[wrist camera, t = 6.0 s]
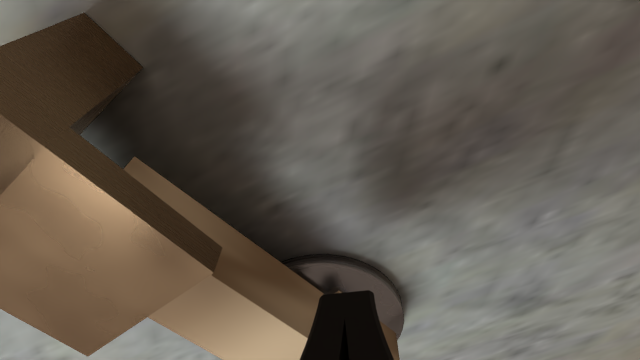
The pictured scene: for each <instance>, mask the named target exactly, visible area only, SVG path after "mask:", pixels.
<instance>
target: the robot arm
mask: <svg viewBox="0 0 640 360" xmlns="http://www.w3.org/2000/svg"><path fill="white" fill-rule="evenodd" d="M300 360H394V358H393V356H392V353H391V351H390V349H389V346H388V344H387V341H386V338H385V336H384V333H383V330H382V327H381V324H380V321H379V317H378V314H377V310H376V304H375V298H374V293H373V292H371V291H370V290H365V291H354V292H344V293H334V294H323V295H322V296H321V297H320V298H319V303H318V307H317V311H316V314H315V318H314V321H313V324H312V327H311V330H310V333H309V336H308V339H307V342H306V345H305V347H304V350H303V352H302V355H301V358H300Z"/></svg>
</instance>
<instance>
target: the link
mask: <svg viewBox="0 0 640 360" xmlns="http://www.w3.org/2000/svg"><path fill="white" fill-rule="evenodd" d="M123 170H125V171H126V172H127V173H128V174H130V175H131V176H132V177H133V178H135V179H136V180H137V181H139V182H140V183H141V184H142V185H144V186H145V187H146V188H147V189H149V190H150V191H151V192H153V193H154V194H155V195H156V196H158V197H159V198H160V199H161V200H163V201H164V202H165V203H167V204H168V205H169V206H170V207H172V208H173V209H174V210H175V211H177V212H178V213H179V214H181V215H182V216H183V217H184V218H186V219H187V220H188V221H189V222H191V223H192V224H193V225H195V226H196V227H197V228H198V229H200V230H201V231H202V232H203V233H205V234H206V235H207V236H209V237H210V238H211V239H212V240H214V241H215V242H216V243H217V244H219V245H220V246H221V247H222V251H221V253H220V256H219V259H218V262H217V265H216V268H215V271H214V273H213V274H211V275H210V276H208V277H207V278H205V279H204V280H202V281H201V282H199V283H198V284H196V285H195V286H193V287H192V288H190V289H189V290H187V291H186V292H184V293H183V294H181V295H180V296H178V297H177V298H175V299H174V300H172V301H171V302H169V303H168V304H166V305H165V306H163V307H162V308H160V309H159V310H157V311H156V312H154V313H153V314H151V315H150V316H148V318H150V319H152V320H154V321H155V322H157V323H159V324H161V325H163V326H164V327H166V328H168V329H170V330H171V331H173V332H175V333H177V334H178V335H180V336H182V337H184V338H186V339H187V340H189V341H191V342H193V343H194V344H196V345H198V346H200V347H201V348H203V349H205V350H207V351H208V352H210V353H212V354H214V355H216V356H217V357H219V358H221V359H223V360H300V358H301V355H302V352H303V350H304V347H305V345H306V342H307V339H308V336H309V333H310V330H311V327H312V324H313V321H314V318H315V314H316V311H317V307H318V303H319V298H320V297H321V296H322V295H323V294H324V293H322V292H321V291H319V290H318V289H317V288H315V287H314V286H313V285H311V284H310V283H308V282H307V281H306V280H304V279H303V278H301V277H300V276H299V275H297V274H296V273H295V272H293V271H292V270H290V269H289V268H288V267H286V266H285V265H284V264H282V263H281V262H279V261H278V260H277V259H275V258H274V257H273V256H271V255H270V254H268V253H267V252H266V251H264V250H263V249H262V248H260V247H259V246H257V245H256V244H255V243H253V242H252V241H250V240H249V239H248V238H246V237H245V236H244V235H242V234H241V233H239V232H238V231H237V230H235V229H234V228H233V227H231V226H230V225H228V224H227V223H226V222H224V221H223V220H222V219H220V218H219V217H217V216H216V215H215V214H213V213H212V212H211V211H209V210H208V209H206V208H205V207H204V206H202V205H201V204H199V203H198V202H197V201H195V200H194V199H193V198H191V197H190V196H188V195H187V194H186V193H184V192H183V191H182V190H180V189H179V188H177V187H176V186H175V185H173V184H172V183H171V182H169V181H168V180H166V179H165V178H164V177H162V176H161V175H159V174H158V173H157V172H155V171H154V170H153V169H151V168H150V167H148V166H147V165H146V164H144V163H143V162H142V161H140V160H139V159H137V158H136V157H135V156H134V158H133V159H132V160H131V161H130V162H129V163H128V164H127V165H126V167H125V168H124V169H123ZM336 293H342V292H340V291H337V292H336ZM380 324H381V327H382V330H383V333H384V336H385V338H386V341H387V344H388V346H389V349H390V351H391V353H392V356H393V358H394V360H400V359H399V352H398V345H397V337H396V333H395V332H394V331H393V330H391V329H390V328H389V327H387V326H386V325H385V324H383V323H382V322H381V321H380Z"/></svg>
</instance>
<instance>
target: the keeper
mask: <svg viewBox="0 0 640 360" xmlns="http://www.w3.org/2000/svg"><path fill="white" fill-rule="evenodd" d="M142 68H143V67H142V66H141V65H140V64H139V63H138V62H137V61H136V60H135V59H134V58H132V57H131V56H130V55H129V54H128V53H127V52H126V51H125V50H124V49H123V48H122V47H121V46H119V45H118V44H117V43H116V42H115V41H114V40H113V39H112V38H111V37H110V36H109V35H108V34H107V33H105V32H104V31H103V30H102V29H101V28H100V27H99V26H98V25H97V24H96V23H95V22H94V21H92V20H91V19H90V18H89V17H88V16H87V15H86V14H85V13H83V14H80V15H78V16H75V17H73V18H70V19H68V20H65V21H62V22H60V23H57V24H55V25H52V26H50V27H47V28H45V29H42V30H40V31H37V32H35V33H32V34H30V35H27V36H25V37H22V38H20V39H17V40H15V41H12V42H10V43H7V44H5V45H2V46H0V309H2V310H4V311H5V312H7V313H9V314H11V315H13V316H15V317H16V318H18V319H20V320H22V321H24V322H26V323H27V324H29V325H31V326H33V327H35V328H37V329H38V330H40V331H42V332H44V333H46V334H48V335H49V336H51V337H53V338H55V339H57V340H59V341H60V342H62V343H64V344H66V345H68V346H70V347H71V348H73V349H75V350H77V351H79V352H81V353H82V354H84V355H86V356H89V355H91V354H92V353H94V352H95V351H97V350H98V349H100V348H101V347H103V346H104V345H106V344H107V343H109V342H110V341H112V340H113V339H115V338H116V337H118V336H120V335H121V334H123V333H124V332H126V331H127V330H129V329H130V328H132V327H133V326H135V325H136V324H138V323H139V322H141V321H142V320H144V319H145V318H147V317H148V316H150V315H151V314H153V313H154V312H156V311H157V310H159V309H160V308H162V307H163V306H165V305H166V304H168V303H169V302H171V301H172V300H174V299H175V298H177V297H178V296H180V295H181V294H183V293H184V292H186V291H187V290H189V289H190V288H192V287H193V286H195V285H196V284H198V283H199V282H201V281H202V280H204V279H205V278H207V277H208V276H210V275H211V274H213V273H214V271H215V268H216V265H217V262H218V259H219V256H220V253H221V251H222V247H221V246H220V245H219V244H217V243H216V242H215V241H214V240H212V239H211V238H210V237H209V236H207V235H206V234H205V233H203V232H202V231H201V230H200V229H198V228H197V227H196V226H195V225H193V224H192V223H191V222H189V221H188V220H187V219H186V218H184V217H183V216H182V215H181V214H179V213H178V212H177V211H175V210H174V209H173V208H172V207H170V206H169V205H168V204H167V203H165V202H164V201H163V200H161V199H160V198H159V197H158V196H156V195H155V194H154V193H153V192H151V191H150V190H149V189H147V188H146V187H145V186H144V185H142V184H141V183H140V182H139V181H137V180H136V179H135V178H133V177H132V176H131V175H130V174H128V173H127V172H126V171H125V170H123V169H122V168H121V167H119V166H118V165H117V164H116V163H114V162H113V161H112V160H111V159H109V158H108V157H107V156H105V155H104V154H103V153H102V152H100V151H99V150H98V149H97V148H95V147H94V146H93V145H91V144H90V143H89V142H88V141H86V140H85V139H84V138H83V137H81V136H80V134H81V133H82V132H83V131H84V130H85V129H86V128H87V127H88V125H89V124H90V123H91V122H92V121H93V120H94V119H95V118H96V117H97V116H98V115H99V114H100V113H101V112H102V111H103V110H104V109H105V108H106V106H107V105H108V104H109V103H110V102H111V101H112V100H113V99H114V98H115V97H116V96H117V95H118V94H119V93H120V92H121V91H122V90H123V88H124V87H125V86H126V85H127V84H128V83H129V82H130V81H131V80H132V79H133V78H134V77H135V76H136V75H137V74H138V73H139V72H140V71H141V69H142Z"/></svg>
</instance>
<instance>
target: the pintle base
mask: <svg viewBox="0 0 640 360" xmlns="http://www.w3.org/2000/svg"><path fill="white" fill-rule="evenodd" d="M281 263H282V264H284V265H285V266H286V267H288V268H289V269H290V270H292V271H293V272H295V273H296V274H297V275H299V276H300V277H301V278H303V279H304V280H306V281H307V282H308V283H310V284H311V285H313V286H314V287H315V288H317V289H318V290H319V291H321V292H322V293H324V294H334V293H336V292H337V291H340V292H342V293H344V292H354V291H365V290H370V291H371V292H373V293H374V298H375V304H376V310H377V314H378V317H379V321H381V322H382V323H383V324H385V325H386V326H387V327H389V328H390V329H391V330H393V331H394V332H395V333H396V337H397V340H398V338H399V337H400V335H401V332H402V329H403V324H404V316H403V310H402V303H401V299H400V295H399V293H398V291H397V289H396V287H395V286H394V284H393V283H392V282H391V281H390V280H389V279H388V277H386V276H385V275H384V274H383V273H381V272H380V271H379V270H377V269H375V268H374V267H372V266H370V265H368V264H366V263H364V262H361V261H358V260H355V259H352V258H348V257H344V256H337V255H323V254H319V255H307V256H301V257H296V258H293V259H289V260H286V261H284V262H281Z"/></svg>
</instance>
